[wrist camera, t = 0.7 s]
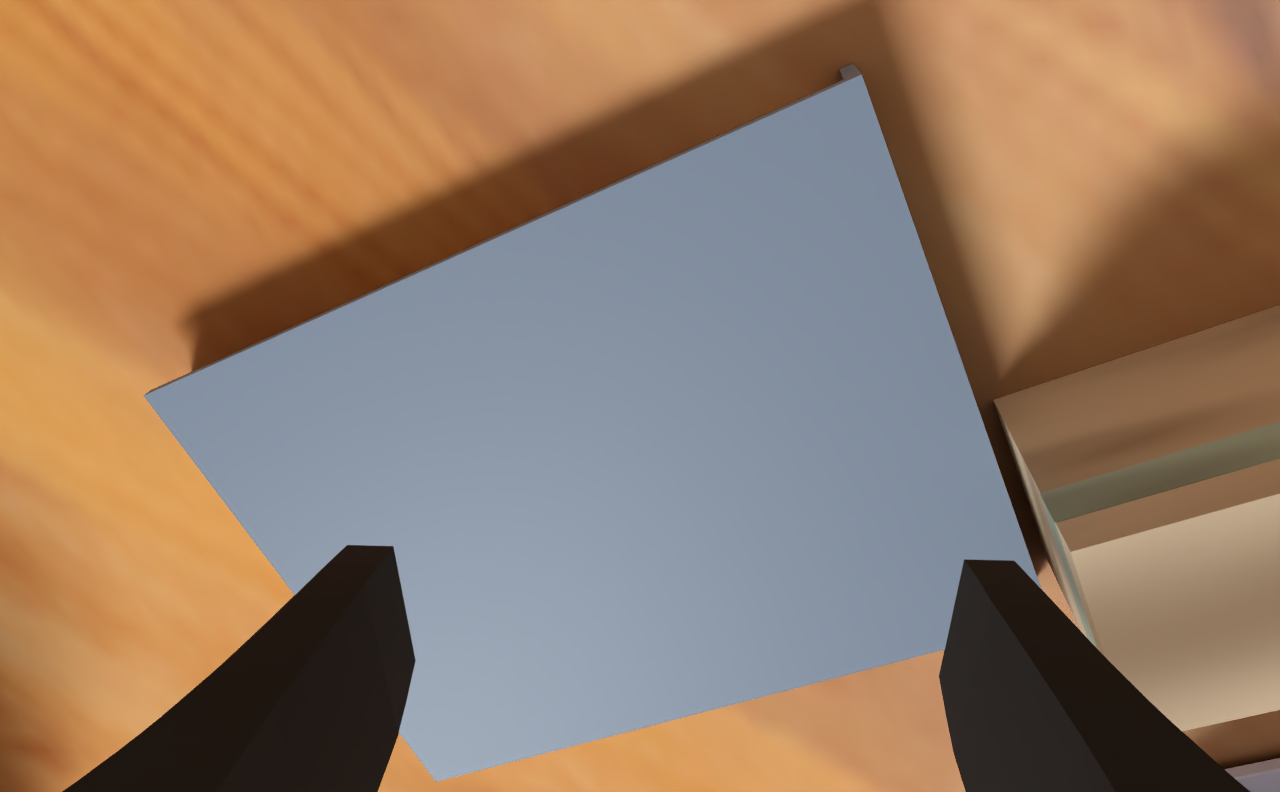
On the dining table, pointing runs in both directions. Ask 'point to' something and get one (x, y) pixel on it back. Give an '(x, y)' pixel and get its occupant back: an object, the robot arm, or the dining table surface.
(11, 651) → the dining table surface
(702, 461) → the book
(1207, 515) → the tea box
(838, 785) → the dining table surface
